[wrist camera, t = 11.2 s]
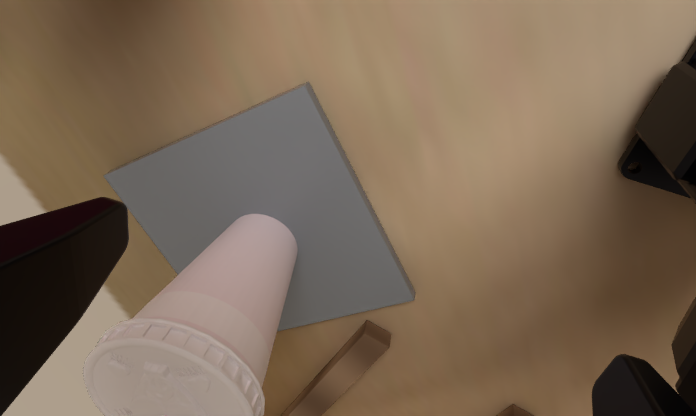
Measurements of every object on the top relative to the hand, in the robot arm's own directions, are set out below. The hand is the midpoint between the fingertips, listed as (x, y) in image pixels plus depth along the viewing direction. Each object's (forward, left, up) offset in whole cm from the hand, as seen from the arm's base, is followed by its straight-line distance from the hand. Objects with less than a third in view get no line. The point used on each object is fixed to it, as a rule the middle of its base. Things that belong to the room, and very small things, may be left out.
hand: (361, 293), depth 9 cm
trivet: (+5, +10, -13) cm, 17 cm away
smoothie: (+5, +10, -13) cm, 17 cm away
